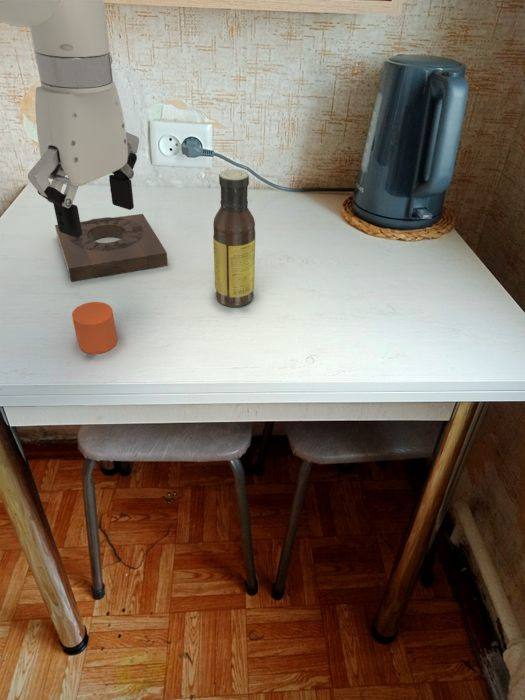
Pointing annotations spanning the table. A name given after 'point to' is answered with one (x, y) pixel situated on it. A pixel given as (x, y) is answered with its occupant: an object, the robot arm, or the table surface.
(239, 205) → the sauce bottle
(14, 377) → the table surface
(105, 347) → the orange cylinder
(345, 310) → the table surface
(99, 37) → the robot arm
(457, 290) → the table surface
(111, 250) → the back board
